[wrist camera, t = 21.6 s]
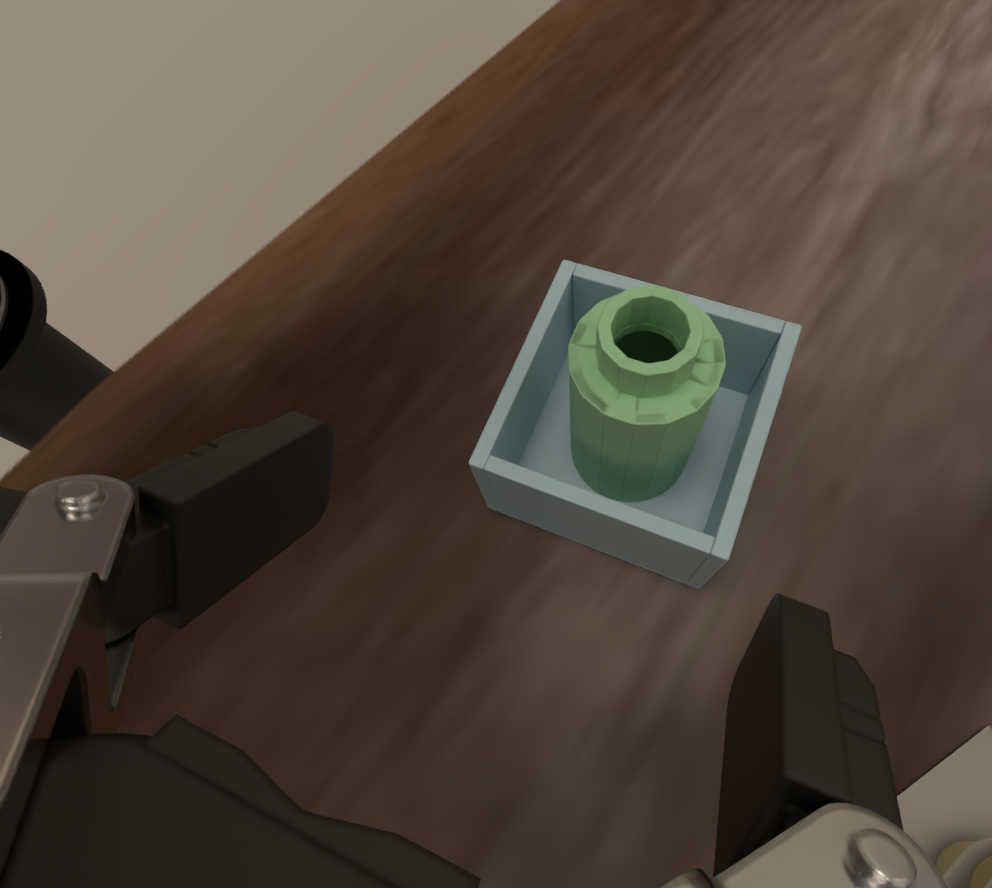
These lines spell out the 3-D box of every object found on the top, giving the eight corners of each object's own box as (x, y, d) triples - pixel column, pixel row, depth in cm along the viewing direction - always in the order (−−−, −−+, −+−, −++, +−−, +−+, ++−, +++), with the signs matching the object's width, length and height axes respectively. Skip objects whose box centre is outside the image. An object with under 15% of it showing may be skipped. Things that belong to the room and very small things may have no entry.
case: (487, 508, 28) (467, 463, 23) (565, 332, 31) (562, 258, 26) (699, 590, 26) (728, 561, 21) (763, 392, 29) (802, 324, 24)
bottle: (554, 478, 28) (542, 372, 19) (594, 383, 29) (600, 243, 21) (665, 519, 27) (707, 425, 18) (701, 417, 28) (755, 284, 19)
